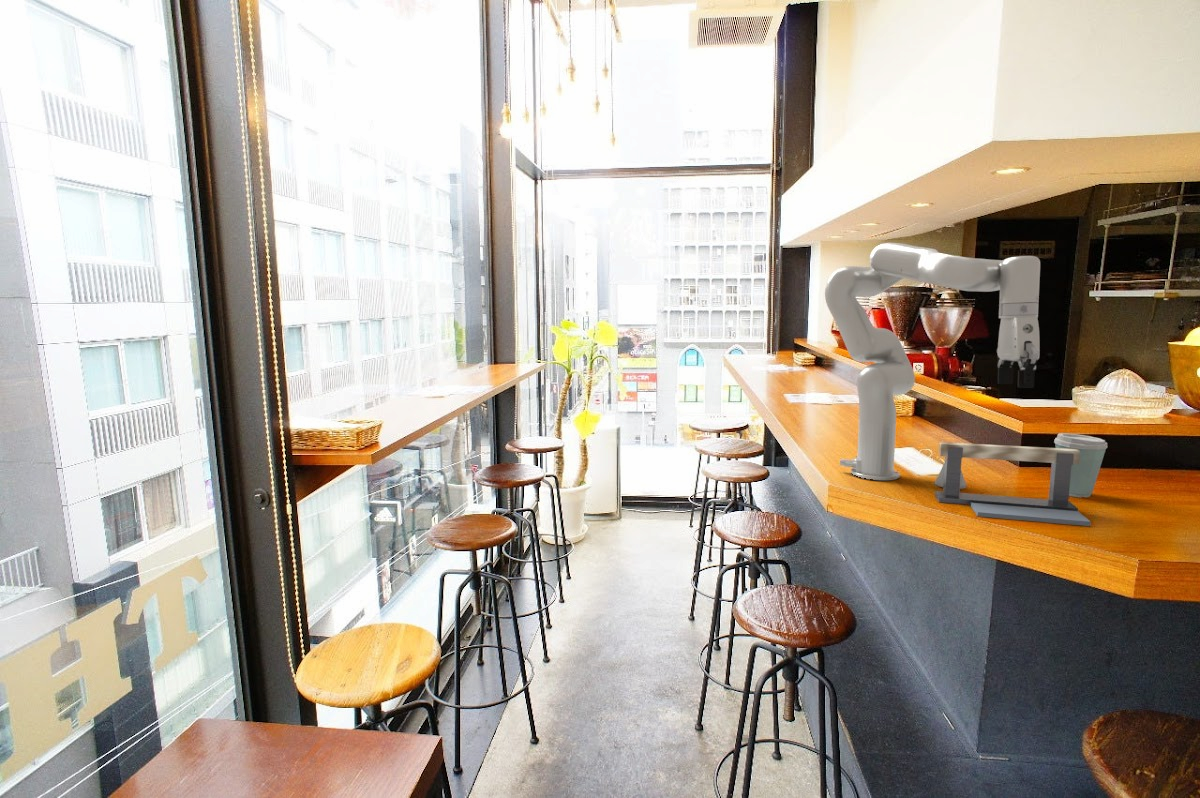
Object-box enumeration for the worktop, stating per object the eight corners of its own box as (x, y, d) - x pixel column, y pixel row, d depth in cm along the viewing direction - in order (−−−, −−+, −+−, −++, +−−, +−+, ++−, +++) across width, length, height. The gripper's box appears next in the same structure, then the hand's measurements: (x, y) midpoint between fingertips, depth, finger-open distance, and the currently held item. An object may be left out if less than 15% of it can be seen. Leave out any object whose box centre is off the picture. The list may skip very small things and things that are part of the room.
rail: (940, 456, 153) (941, 443, 153) (938, 453, 156) (939, 441, 155) (1079, 464, 144) (1080, 451, 143) (1075, 461, 146) (1076, 449, 146)
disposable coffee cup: (1081, 488, 164) (1086, 431, 162) (1114, 500, 153) (1120, 439, 151) (1039, 488, 164) (1044, 431, 162) (1070, 500, 153) (1076, 439, 151)
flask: (928, 484, 169) (930, 447, 168) (948, 481, 172) (951, 445, 171) (952, 491, 163) (954, 453, 161) (972, 488, 165) (975, 450, 164)
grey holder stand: (938, 502, 153) (942, 447, 151) (935, 495, 159) (938, 442, 157) (1077, 513, 144) (1082, 455, 142) (1068, 506, 149) (1073, 449, 147)
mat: (977, 516, 142) (977, 512, 142) (970, 506, 149) (971, 502, 149) (1090, 526, 135) (1090, 521, 135) (1077, 515, 142) (1078, 511, 142)
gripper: (1057, 309, 136) (1053, 389, 138) (1017, 312, 153) (1014, 382, 155) (1018, 311, 138) (1015, 389, 139) (984, 313, 155) (981, 383, 156)
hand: (1015, 385), depth 147 cm, fingers open, 9 cm apart
